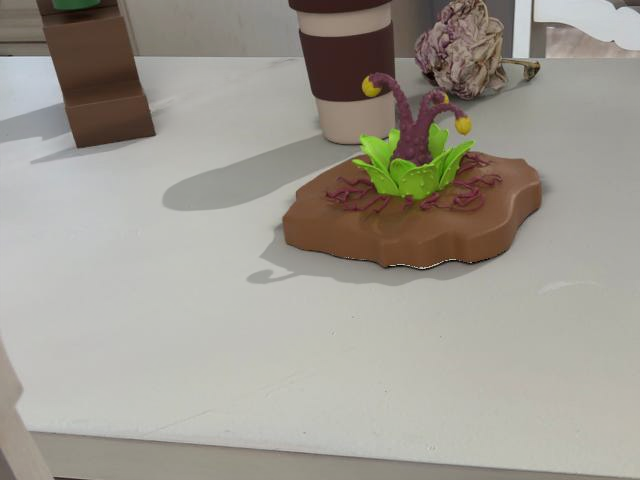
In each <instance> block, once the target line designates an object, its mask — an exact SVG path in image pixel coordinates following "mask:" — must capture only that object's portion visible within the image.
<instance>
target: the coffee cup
mask: <svg viewBox="0 0 640 480" xmlns="http://www.w3.org/2000/svg"><path fill="white" fill-rule="evenodd" d="M392 1H393V0H287V2H288V3H287V4H288V7H289V8H290V9H291V10H292V11H295V12H296V17H297V20H298V24H299V25H298V26H299V29H298V37H299V41H300V45H301V49H302V54H303V59H304V64H305V68H306V72H307V77H308V82H309V87H310V90H311V94H312V95H313V97H314V98H315V99H314V100H315V104H316V108H317V113H318V117H319V122H320V127H321V131H322V135H323V136H324V138H325V139H326V140H327V141H328V142H329V141H330V142H332V143H335V144H340V145H363V144H362V143H361V142H360V136H361V135H362V134H363V135H366V136H373V137H377V138H379V139H381V140H384V139H386V138H389V133H390V131H391V129H396V109H395V107H396V106H395V97H394V96H393V91H392V89H390V87H389V86H388V84H387V83H383V84H382V88H381V91H380V92H379V93H378V94H377V95H376V96H374V97H369V96H366V95H365V93H364V92H363V89H362V83H363V81H364V79H365V78H366V77H368V76H369V75H370V74H375V73H377V72H378V73H383V74H387V75H389V76H390V77H392V78H393V79H395V80H396V61H395V60H396V58H395V57H396V53H395V33H394V22H393V19H392V17H391V3H392ZM396 81H397V80H396Z"/></svg>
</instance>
